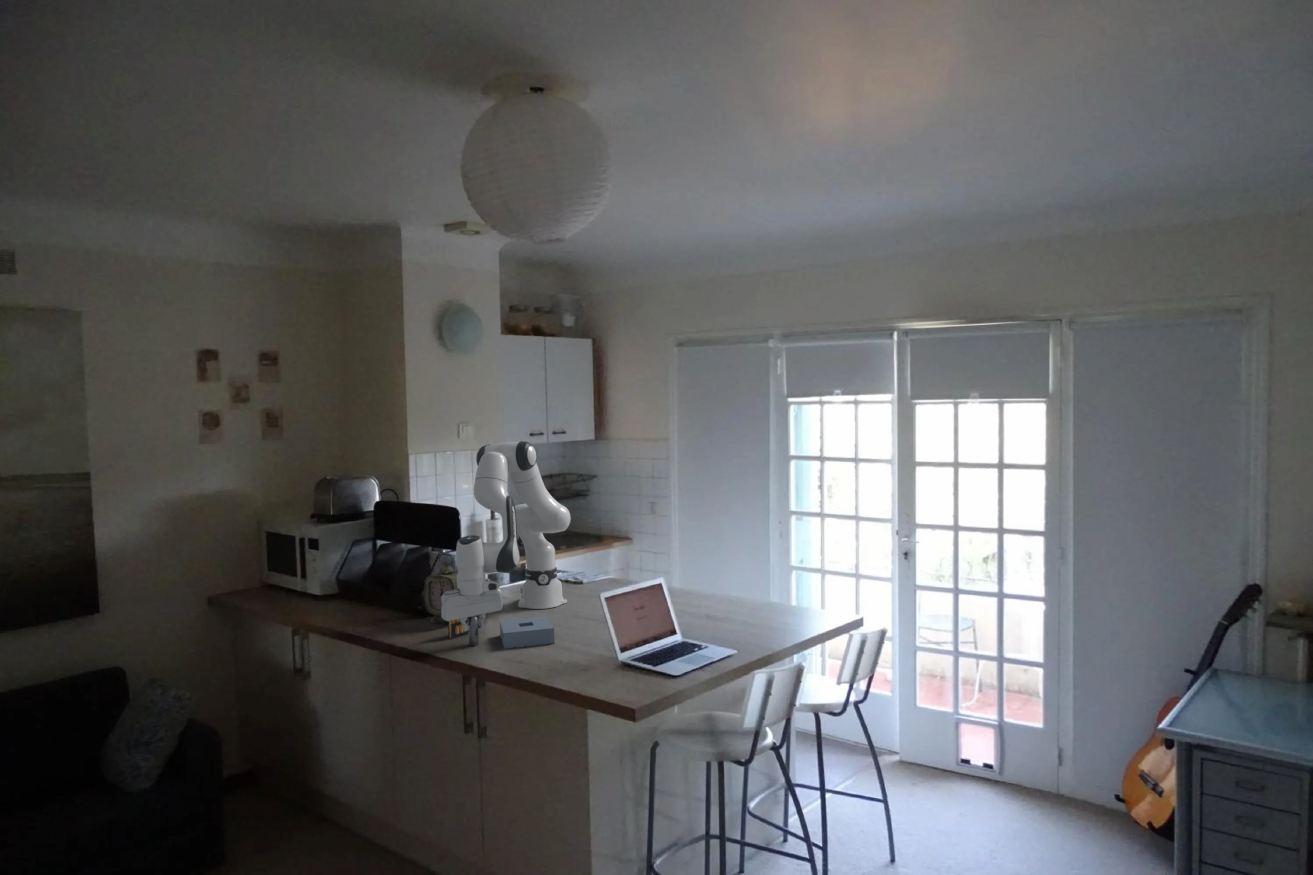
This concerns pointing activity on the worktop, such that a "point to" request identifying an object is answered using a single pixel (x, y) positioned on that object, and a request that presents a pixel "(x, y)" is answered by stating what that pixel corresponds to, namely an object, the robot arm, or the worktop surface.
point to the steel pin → (473, 631)
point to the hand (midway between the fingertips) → (473, 629)
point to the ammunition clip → (456, 629)
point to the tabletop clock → (439, 587)
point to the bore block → (526, 632)
